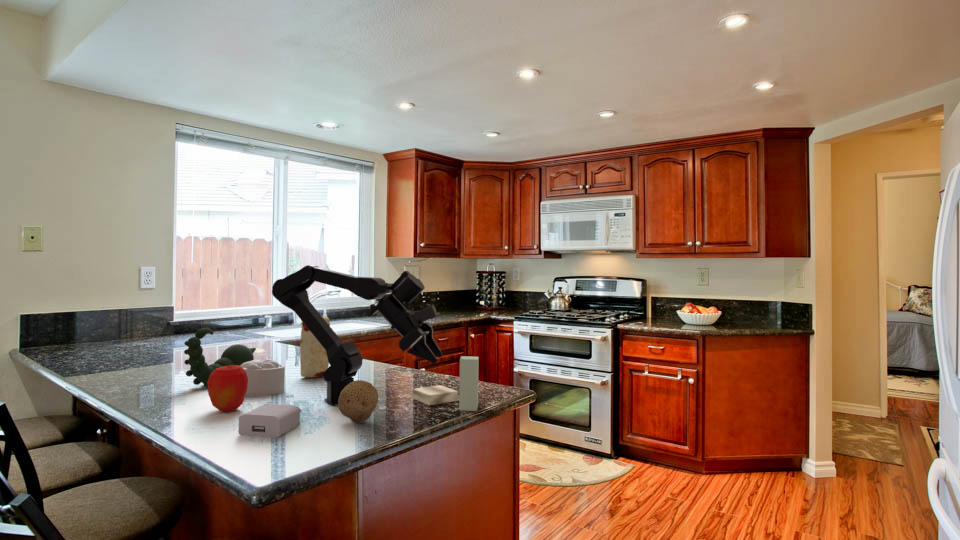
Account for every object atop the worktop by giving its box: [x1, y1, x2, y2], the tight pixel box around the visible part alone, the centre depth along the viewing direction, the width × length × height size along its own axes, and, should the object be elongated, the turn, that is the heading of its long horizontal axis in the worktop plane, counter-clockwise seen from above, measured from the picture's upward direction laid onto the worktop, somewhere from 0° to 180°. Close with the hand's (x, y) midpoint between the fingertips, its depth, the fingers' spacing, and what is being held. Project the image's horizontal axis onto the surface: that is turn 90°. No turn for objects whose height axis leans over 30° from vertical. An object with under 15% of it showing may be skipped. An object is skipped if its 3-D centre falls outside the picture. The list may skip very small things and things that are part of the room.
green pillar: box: [458, 355, 480, 412], centre depth 131 cm, size 4×4×13 cm
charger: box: [237, 403, 302, 439], centre depth 114 cm, size 5×9×15 cm
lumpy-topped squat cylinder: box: [240, 358, 286, 396], centre depth 147 cm, size 10×13×9 cm
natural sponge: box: [337, 379, 379, 425], centre depth 117 cm, size 9×9×10 cm
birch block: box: [412, 384, 459, 406], centre depth 140 cm, size 9×9×3 cm
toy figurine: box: [183, 327, 257, 387], centre depth 156 cm, size 9×19×25 cm
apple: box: [207, 363, 248, 413], centre depth 126 cm, size 9×9×12 cm
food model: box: [299, 315, 331, 378], centre depth 167 cm, size 10×7×20 cm
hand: (438, 359), depth 132 cm, fingers open, 9 cm apart
